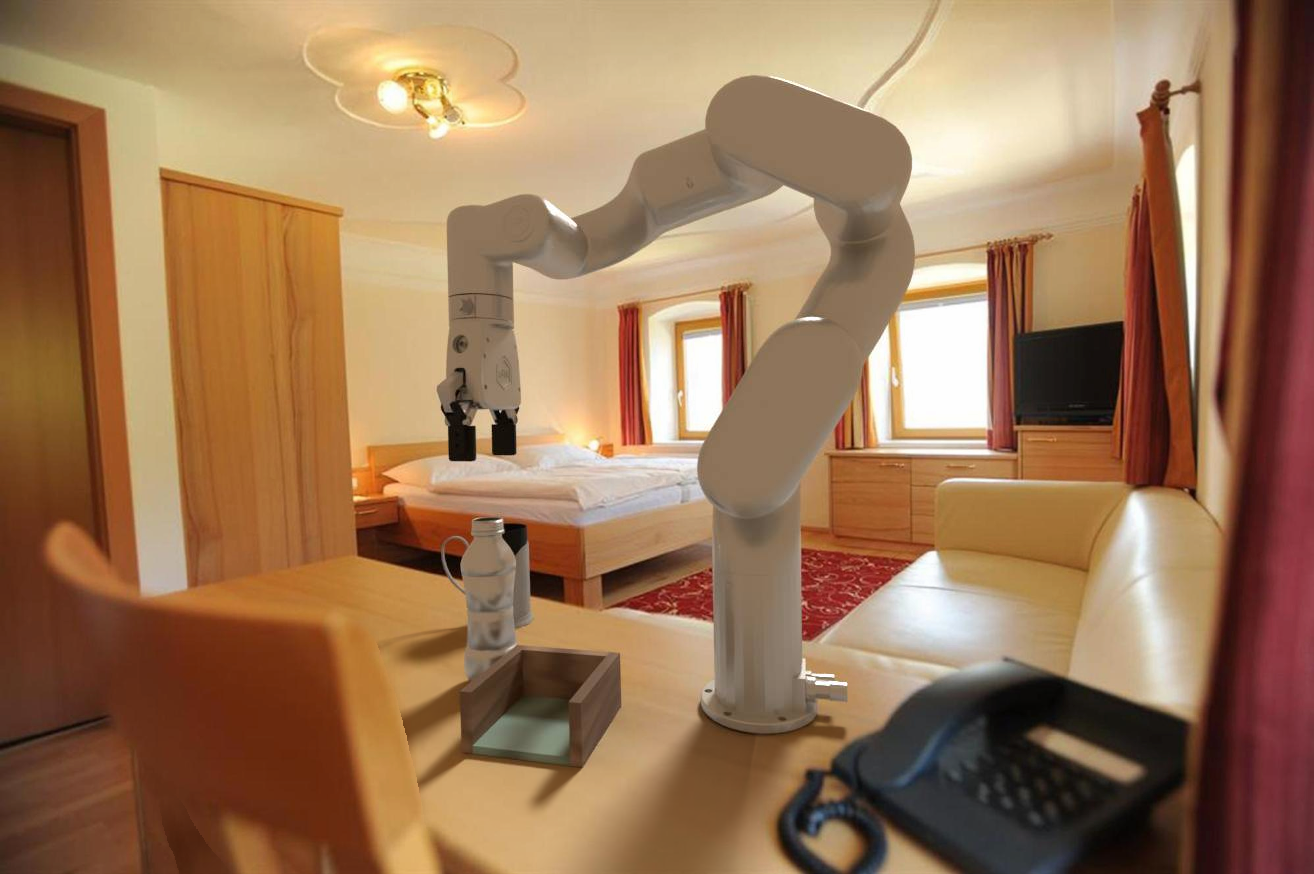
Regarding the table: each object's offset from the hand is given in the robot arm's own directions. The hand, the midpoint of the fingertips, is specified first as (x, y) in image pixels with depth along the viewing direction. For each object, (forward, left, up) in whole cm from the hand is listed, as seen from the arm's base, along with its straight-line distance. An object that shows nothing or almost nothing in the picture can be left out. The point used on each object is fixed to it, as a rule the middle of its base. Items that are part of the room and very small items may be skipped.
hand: (484, 457), depth 74 cm
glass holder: (+12, -20, -28) cm, 36 cm away
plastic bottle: (0, 0, -28) cm, 28 cm away
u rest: (-11, +9, -27) cm, 31 cm away
